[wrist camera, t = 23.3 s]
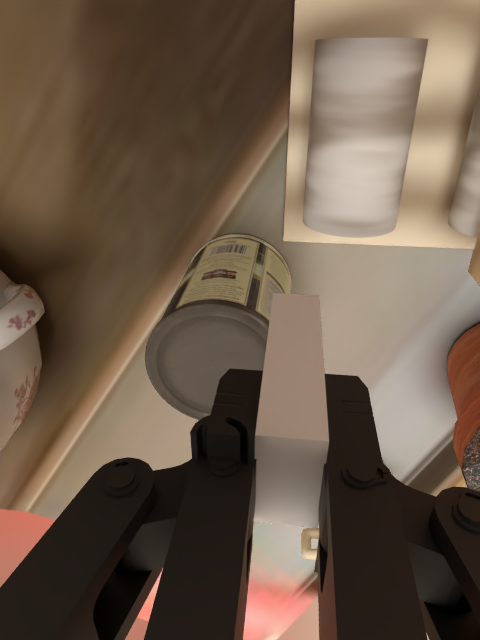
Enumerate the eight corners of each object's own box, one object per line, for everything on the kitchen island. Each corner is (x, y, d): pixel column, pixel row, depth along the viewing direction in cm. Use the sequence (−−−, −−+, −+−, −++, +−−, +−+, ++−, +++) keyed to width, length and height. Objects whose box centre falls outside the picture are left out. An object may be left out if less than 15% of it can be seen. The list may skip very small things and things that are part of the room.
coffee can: (223, 344, 48) (196, 441, 36) (166, 264, 44) (115, 342, 32) (312, 303, 44) (315, 396, 32) (259, 212, 40) (240, 279, 28)
